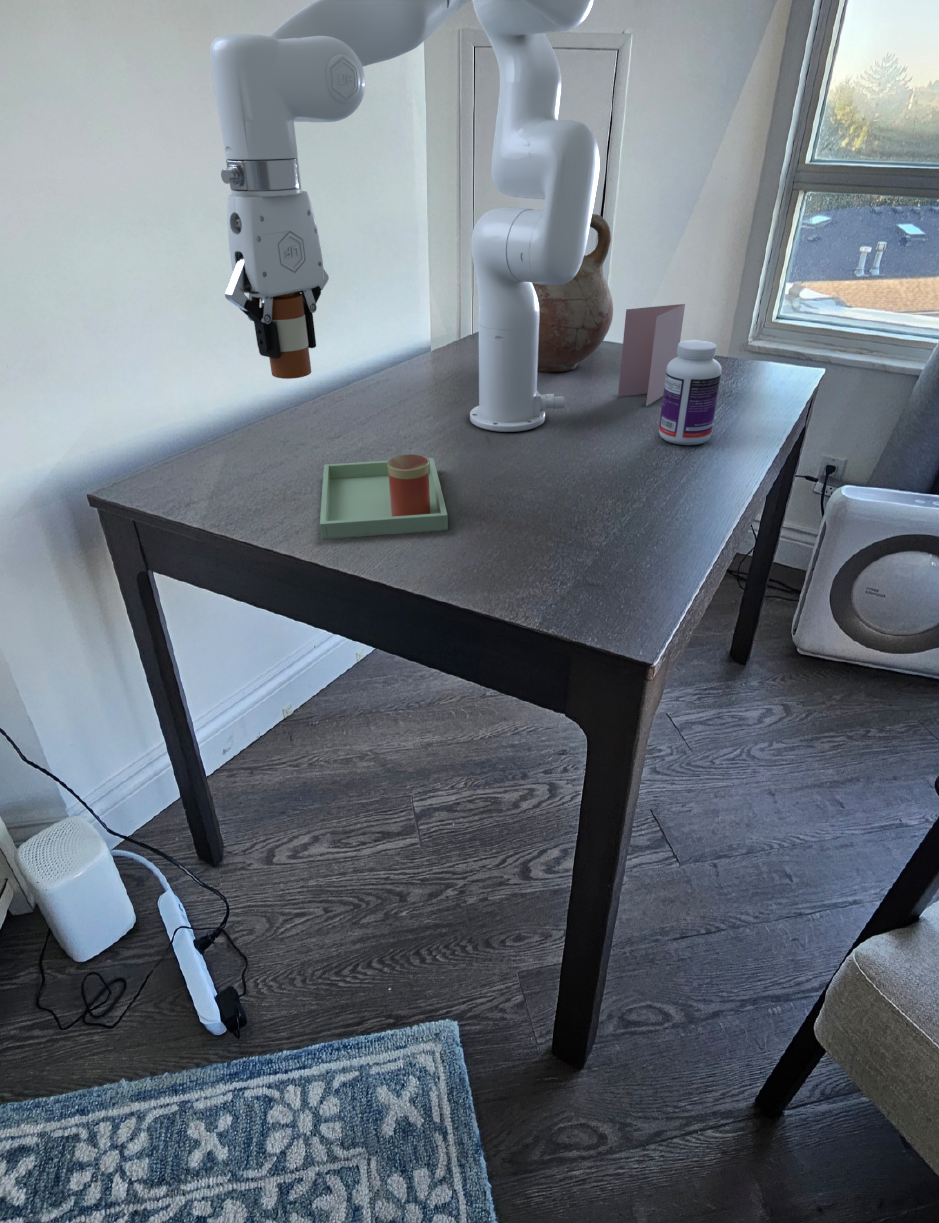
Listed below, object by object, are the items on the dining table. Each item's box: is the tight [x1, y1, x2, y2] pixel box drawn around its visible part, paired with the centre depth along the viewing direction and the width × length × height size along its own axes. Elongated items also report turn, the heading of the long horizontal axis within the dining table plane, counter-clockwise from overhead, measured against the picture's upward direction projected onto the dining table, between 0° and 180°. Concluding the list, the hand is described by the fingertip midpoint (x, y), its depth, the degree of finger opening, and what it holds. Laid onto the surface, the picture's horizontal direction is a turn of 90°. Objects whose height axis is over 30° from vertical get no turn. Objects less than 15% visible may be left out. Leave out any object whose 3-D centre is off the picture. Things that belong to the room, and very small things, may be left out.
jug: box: [532, 213, 614, 373], centre depth 145 cm, size 22×22×30 cm
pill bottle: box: [658, 339, 722, 446], centre depth 115 cm, size 8×8×14 cm
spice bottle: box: [260, 292, 312, 380], centre depth 90 cm, size 5×5×12 cm
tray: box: [319, 457, 449, 540], centre depth 99 cm, size 15×18×3 cm
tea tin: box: [387, 453, 430, 517], centre depth 95 cm, size 5×5×7 cm
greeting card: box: [617, 303, 686, 407], centre depth 132 cm, size 11×7×15 cm, turn 108°
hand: (288, 349), depth 91 cm, fingers closed on spice bottle, 4 cm apart
